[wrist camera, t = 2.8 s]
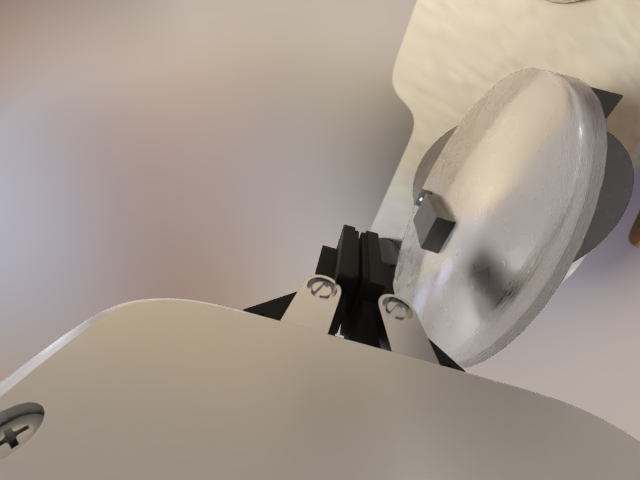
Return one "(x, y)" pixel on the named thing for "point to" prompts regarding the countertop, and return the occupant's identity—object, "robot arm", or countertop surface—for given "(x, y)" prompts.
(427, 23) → the countertop surface
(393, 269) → the supplement bottle
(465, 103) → the countertop surface
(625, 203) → the cooker pot
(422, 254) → the lid
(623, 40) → the countertop surface
